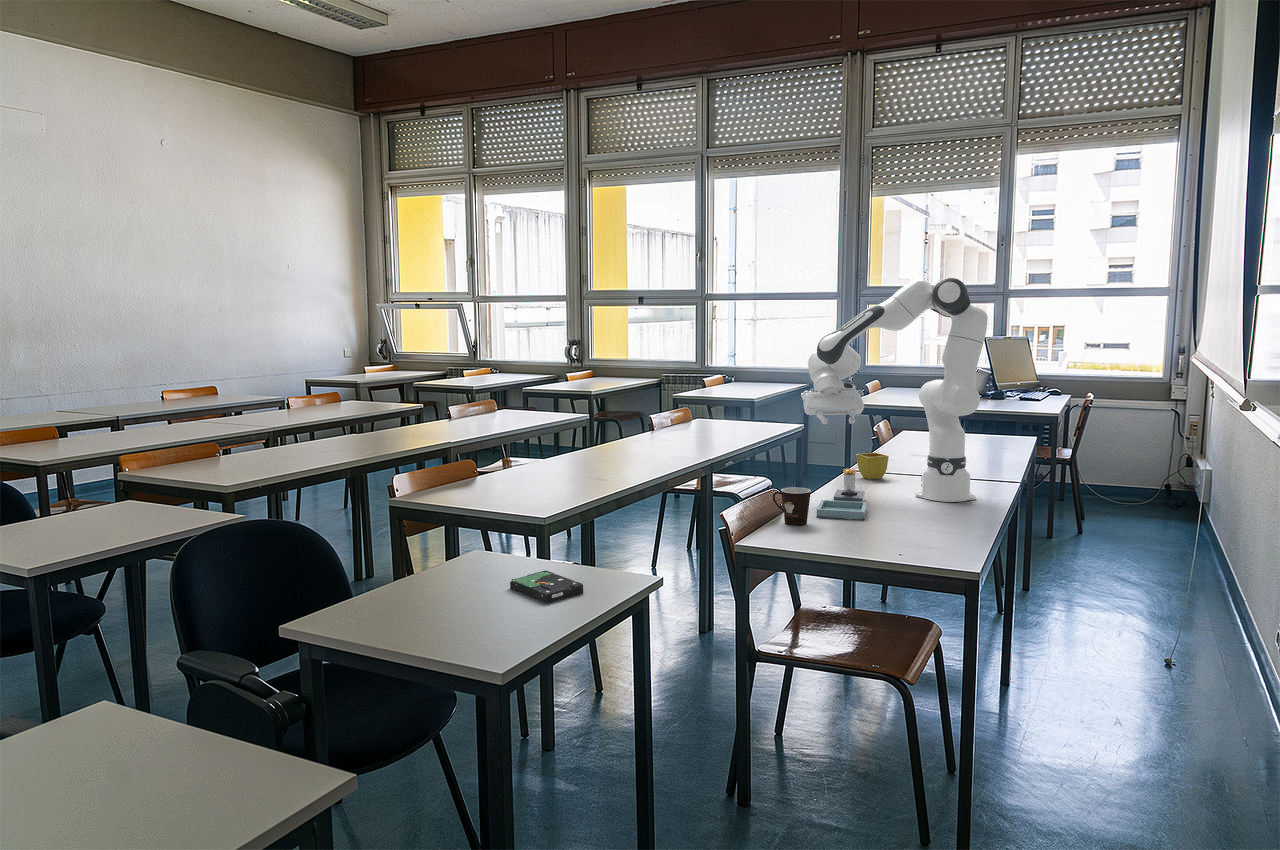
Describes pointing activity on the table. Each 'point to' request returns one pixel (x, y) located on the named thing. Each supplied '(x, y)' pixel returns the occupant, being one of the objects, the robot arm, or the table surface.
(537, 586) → the disk drive
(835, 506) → the tray
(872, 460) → the flower pot
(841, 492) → the socket block
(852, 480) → the orange capped bottle
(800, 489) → the coffee mug
